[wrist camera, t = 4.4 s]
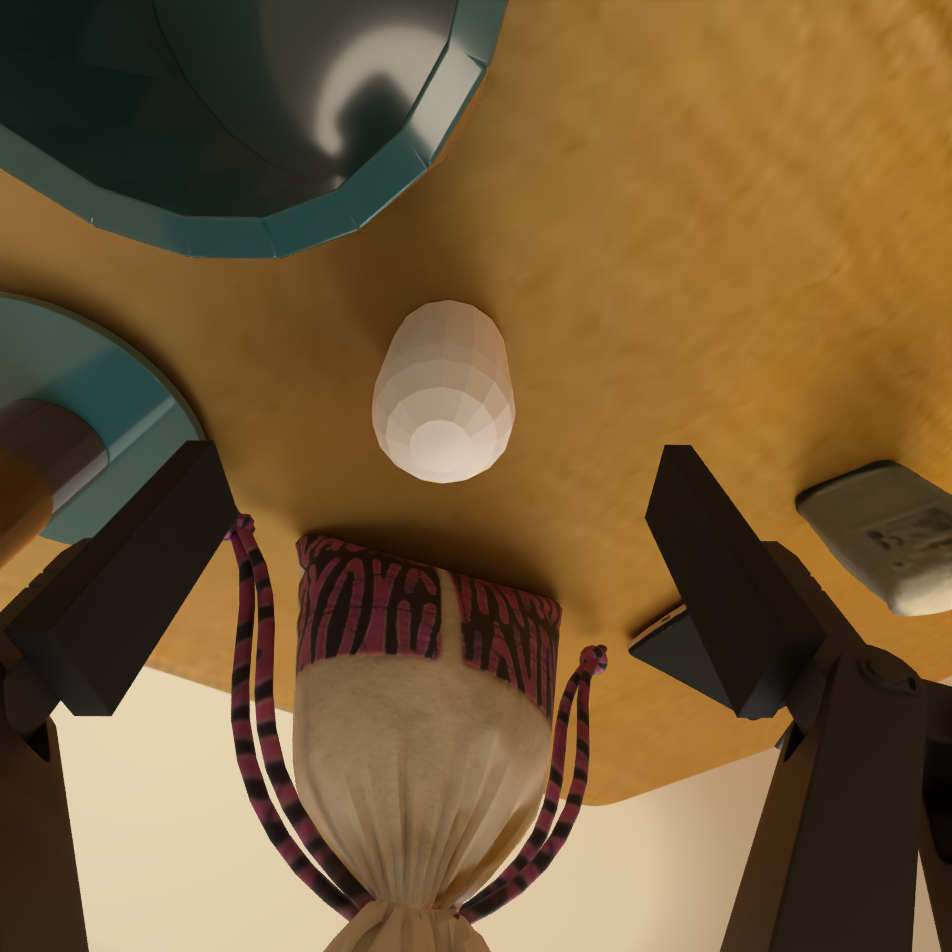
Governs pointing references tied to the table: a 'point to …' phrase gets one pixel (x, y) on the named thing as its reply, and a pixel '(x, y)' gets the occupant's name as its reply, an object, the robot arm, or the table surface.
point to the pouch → (408, 739)
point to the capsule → (444, 394)
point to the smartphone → (680, 654)
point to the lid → (76, 423)
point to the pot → (237, 112)
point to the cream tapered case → (888, 534)
